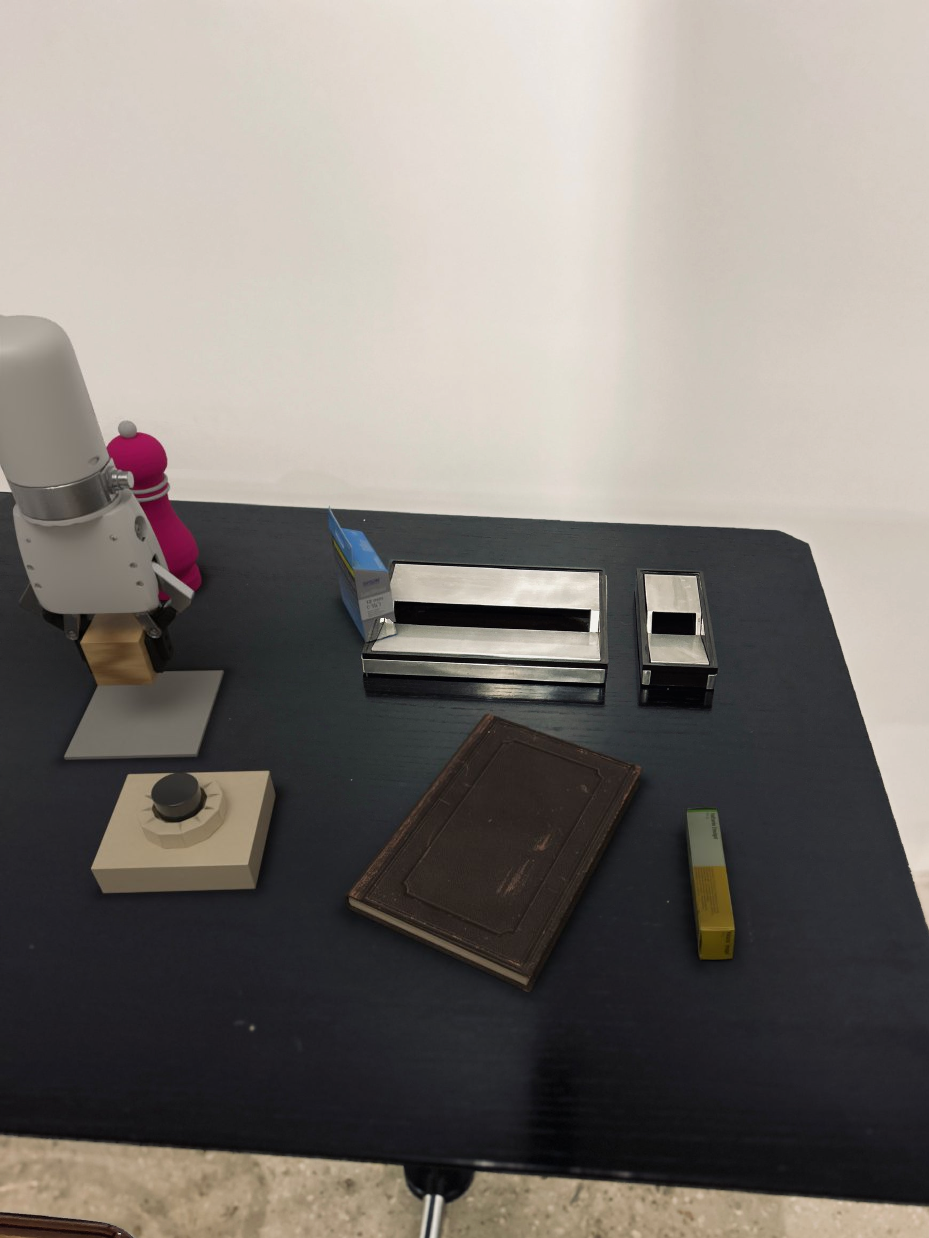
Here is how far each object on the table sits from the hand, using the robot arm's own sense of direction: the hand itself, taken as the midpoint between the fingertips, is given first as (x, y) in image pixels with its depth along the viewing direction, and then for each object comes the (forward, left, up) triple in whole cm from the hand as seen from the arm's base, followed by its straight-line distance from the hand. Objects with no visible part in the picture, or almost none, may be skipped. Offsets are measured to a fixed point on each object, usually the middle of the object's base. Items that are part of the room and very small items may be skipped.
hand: (131, 662), depth 81 cm
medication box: (+50, -23, -7) cm, 55 cm away
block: (0, 0, -1) cm, 1 cm away
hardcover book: (+34, -17, -7) cm, 38 cm away
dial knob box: (+8, -16, -7) cm, 19 cm away
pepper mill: (-3, +22, -7) cm, 23 cm away
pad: (0, 0, -7) cm, 7 cm away
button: (+8, -16, -2) cm, 18 cm away
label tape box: (+20, +15, -7) cm, 26 cm away
